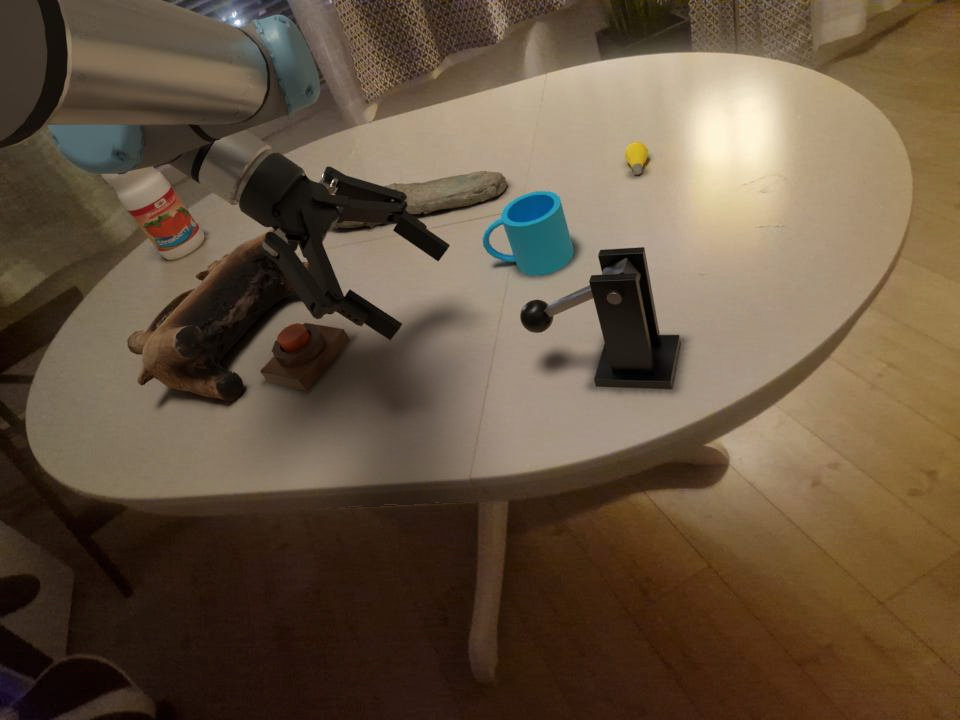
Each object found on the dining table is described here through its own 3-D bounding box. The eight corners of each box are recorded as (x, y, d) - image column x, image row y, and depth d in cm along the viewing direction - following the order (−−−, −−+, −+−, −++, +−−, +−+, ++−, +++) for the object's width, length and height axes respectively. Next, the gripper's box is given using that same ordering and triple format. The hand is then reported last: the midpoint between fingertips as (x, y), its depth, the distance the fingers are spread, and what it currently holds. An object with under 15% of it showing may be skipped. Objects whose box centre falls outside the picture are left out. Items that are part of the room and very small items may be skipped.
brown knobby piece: (291, 198, 96) (194, 222, 110) (163, 358, 80) (69, 361, 94) (341, 262, 104) (245, 276, 118) (235, 419, 88) (137, 414, 102)
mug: (575, 235, 92) (562, 185, 87) (573, 270, 87) (559, 219, 81) (495, 251, 96) (478, 204, 91) (488, 285, 90) (469, 237, 85)
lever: (530, 343, 71) (509, 321, 70) (539, 321, 73) (519, 300, 72) (639, 298, 62) (617, 272, 60) (645, 274, 64) (624, 248, 62)
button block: (306, 391, 86) (292, 370, 83) (267, 382, 90) (252, 362, 88) (350, 340, 91) (337, 319, 89) (311, 333, 96) (298, 313, 93)
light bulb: (644, 154, 102) (649, 136, 99) (646, 182, 99) (651, 165, 96) (623, 153, 102) (626, 136, 99) (624, 182, 100) (628, 164, 96)
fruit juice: (196, 230, 139) (108, 105, 121) (212, 239, 132) (122, 109, 114) (158, 255, 135) (61, 130, 117) (173, 265, 129) (73, 135, 111)
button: (297, 354, 86) (291, 345, 85) (277, 350, 88) (271, 341, 87) (315, 334, 88) (309, 324, 87) (296, 330, 91) (290, 321, 89)
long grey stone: (504, 213, 105) (513, 184, 113) (497, 183, 102) (506, 156, 109) (316, 239, 116) (335, 211, 123) (304, 213, 113) (324, 186, 120)
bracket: (595, 387, 70) (568, 288, 61) (608, 342, 75) (584, 244, 66) (671, 389, 67) (653, 286, 58) (680, 342, 71) (665, 239, 62)
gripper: (305, 143, 80) (448, 242, 84) (179, 272, 65) (361, 385, 69) (322, 98, 74) (474, 206, 78) (188, 227, 59) (385, 354, 63)
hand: (422, 290), depth 73 cm, fingers open, 13 cm apart
